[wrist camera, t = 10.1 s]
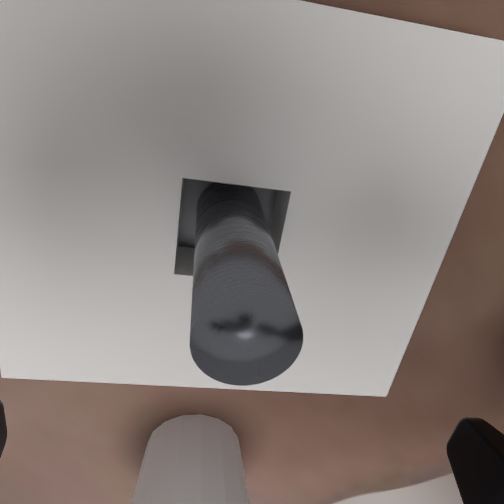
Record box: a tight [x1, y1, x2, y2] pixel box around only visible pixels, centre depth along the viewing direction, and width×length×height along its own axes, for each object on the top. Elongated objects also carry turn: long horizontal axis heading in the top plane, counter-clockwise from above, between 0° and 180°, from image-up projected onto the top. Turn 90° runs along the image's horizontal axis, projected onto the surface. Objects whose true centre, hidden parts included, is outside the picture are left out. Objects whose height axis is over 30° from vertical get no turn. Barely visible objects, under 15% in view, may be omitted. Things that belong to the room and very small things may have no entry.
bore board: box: [0, 0, 504, 397], centre depth 17 cm, size 18×16×3 cm
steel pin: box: [190, 182, 303, 386], centre depth 14 cm, size 3×3×9 cm
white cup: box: [132, 414, 250, 504], centre depth 23 cm, size 7×7×7 cm
